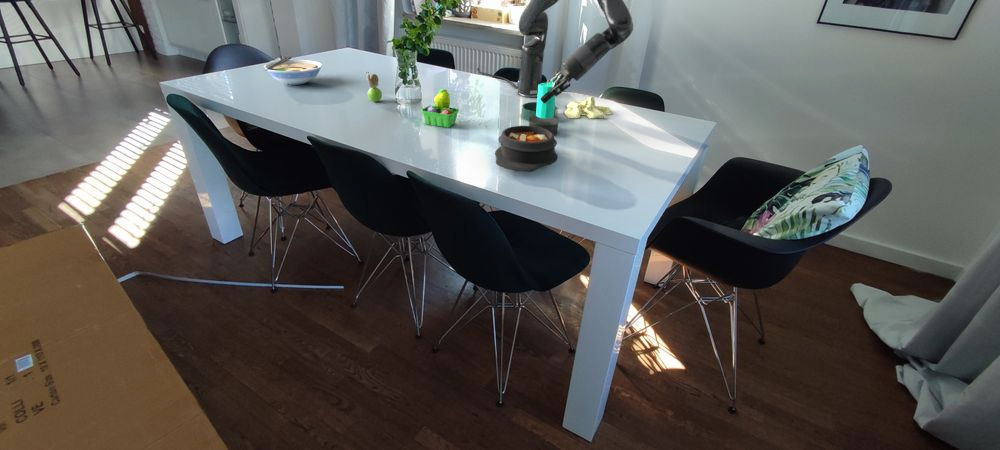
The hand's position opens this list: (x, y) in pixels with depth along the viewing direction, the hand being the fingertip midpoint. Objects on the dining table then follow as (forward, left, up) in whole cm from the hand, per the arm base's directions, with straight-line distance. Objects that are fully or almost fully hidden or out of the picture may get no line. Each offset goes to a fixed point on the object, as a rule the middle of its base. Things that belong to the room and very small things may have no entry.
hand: (540, 98), depth 159 cm
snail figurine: (-54, -40, -12) cm, 69 cm away
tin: (-13, +10, -11) cm, 20 cm away
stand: (+1, +2, -11) cm, 11 cm away
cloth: (-11, +31, -12) cm, 35 cm away
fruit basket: (-20, -27, -12) cm, 36 cm away
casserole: (+21, -18, -12) cm, 30 cm away
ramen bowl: (-93, -62, -12) cm, 113 cm away
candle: (+1, +2, -6) cm, 6 cm away
